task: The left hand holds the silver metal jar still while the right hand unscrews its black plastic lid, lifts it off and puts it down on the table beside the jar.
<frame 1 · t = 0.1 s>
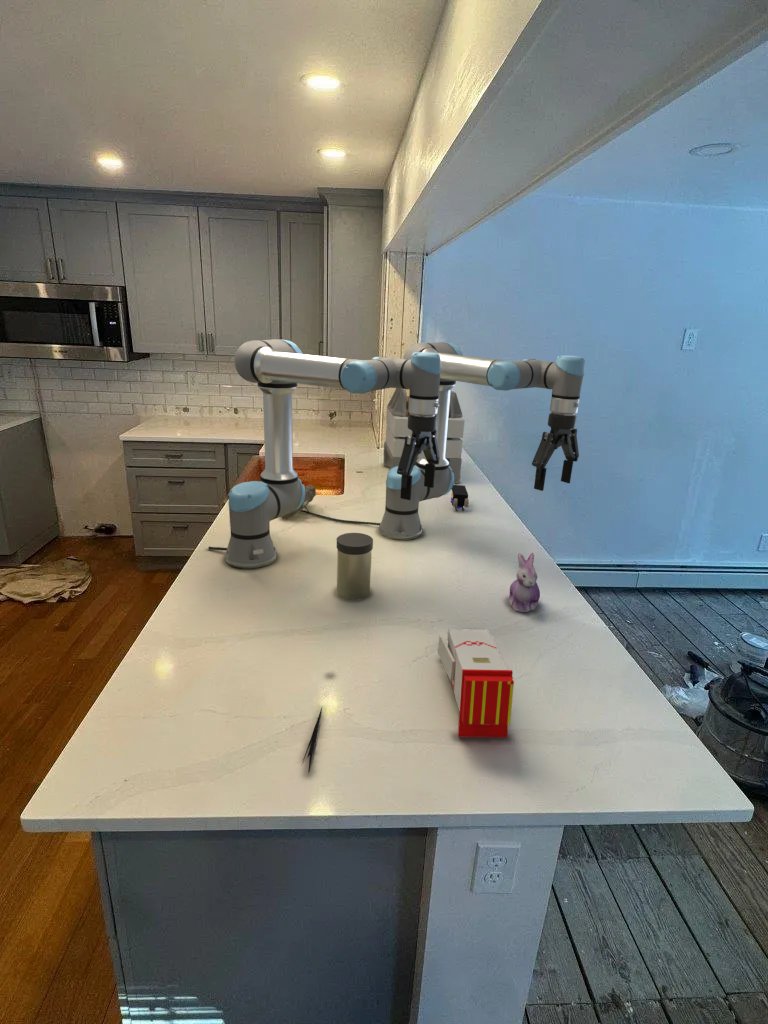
left hand: (417, 492, 154), 28 cm above the counter, tool pointing down, fingers open, 13 cm apart
right hand: (552, 485, 166), 28 cm above the counter, tool pointing down, fingers open, 13 cm apart
jar: (353, 592, 158), on the counter
figurine: (523, 605, 155), on the counter
feather: (319, 719, 109), on the counter
toy: (469, 691, 119), on the counter
fossil: (299, 511, 217), on the counter
figurine character: (458, 507, 230), on the counter
transformer: (419, 473, 275), on the counter
lid: (354, 540, 152), point 16 cm above the counter, screwed on, not yet turned
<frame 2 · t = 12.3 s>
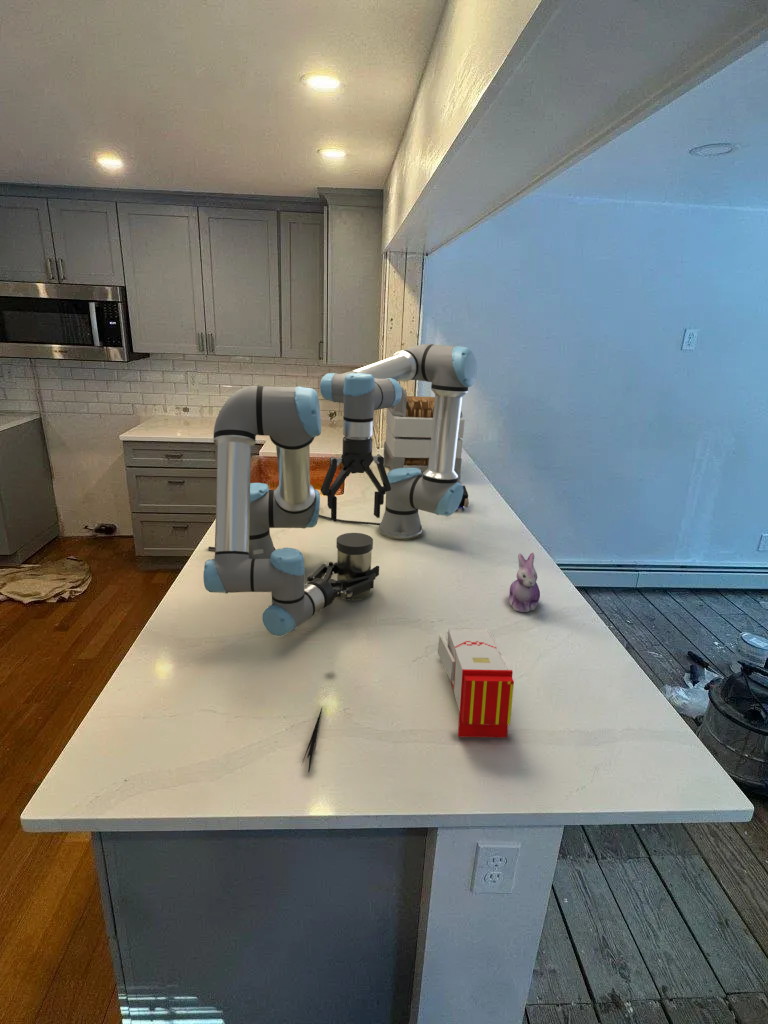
left hand: (362, 565, 159), 6 cm above the counter, tool horizontal, fingers closed on jar, 9 cm apart
right hand: (355, 517, 150), 22 cm above the counter, tool pointing down, fingers open, 11 cm apart
jar: (353, 592, 158), on the counter, touching left hand
everything else where it was.
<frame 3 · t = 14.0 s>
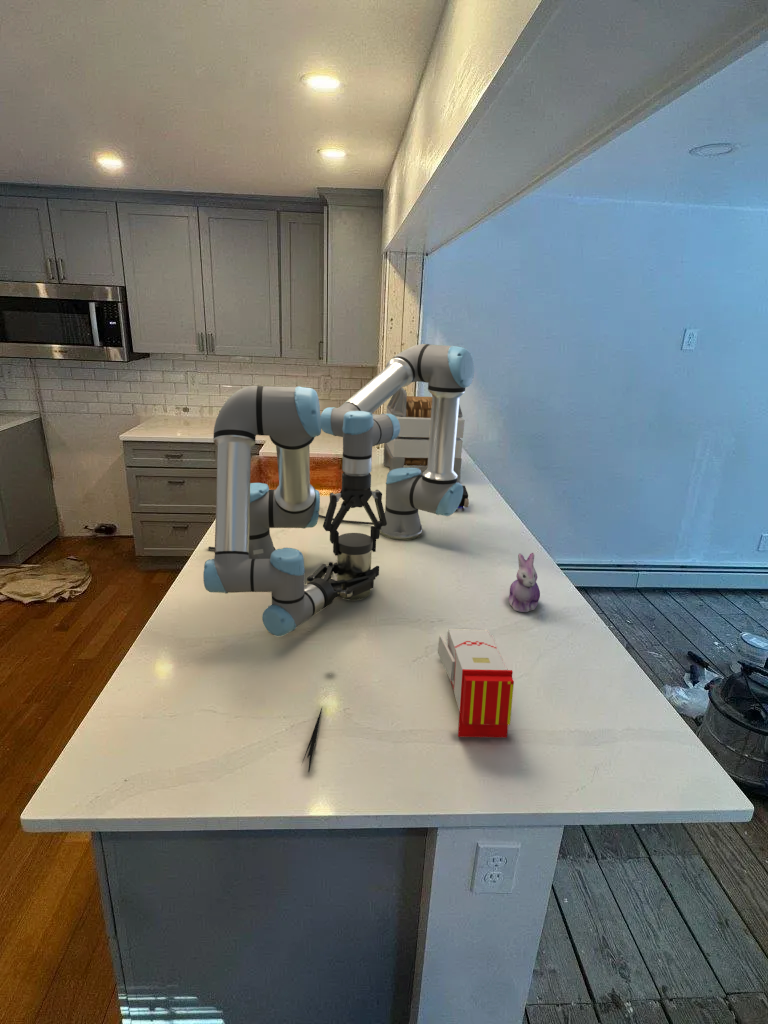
left hand: (362, 565, 159), 6 cm above the counter, tool horizontal, fingers closed on jar, 9 cm apart
right hand: (354, 551, 154), 12 cm above the counter, tool pointing down, fingers closed on lid, 10 cm apart
jar: (353, 592, 158), on the counter, touching left hand
lid: (354, 540, 152), point 16 cm above the counter, screwed on, not yet turned, touching right hand
everything else where it was.
when the right hand's fingers open (13 cm above the counter, at t = 15.7 s): lid stays where it is, point 16 cm above the counter.
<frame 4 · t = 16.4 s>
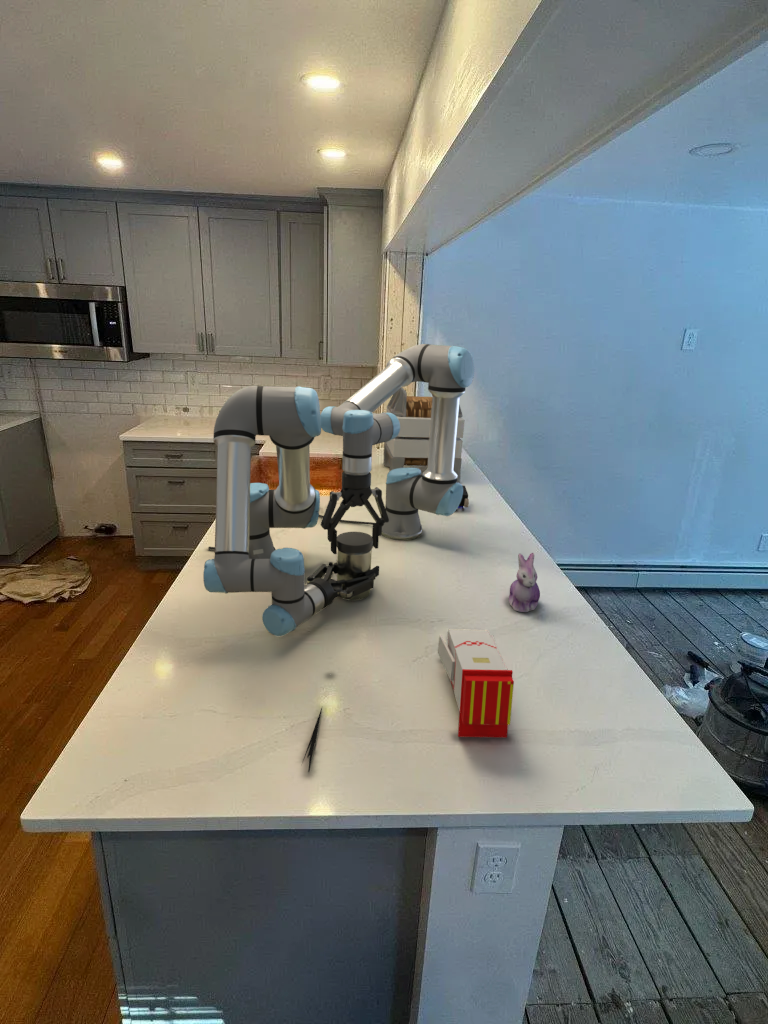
left hand: (362, 565, 159), 6 cm above the counter, tool horizontal, fingers closed on jar, 9 cm apart
right hand: (354, 549, 153), 13 cm above the counter, tool pointing down, fingers open, 11 cm apart
jar: (353, 592, 158), on the counter, touching left hand
lid: (354, 539, 152), point 16 cm above the counter, turned 101° so far, risen 0.3 cm, still on its thread
everything else where it was.
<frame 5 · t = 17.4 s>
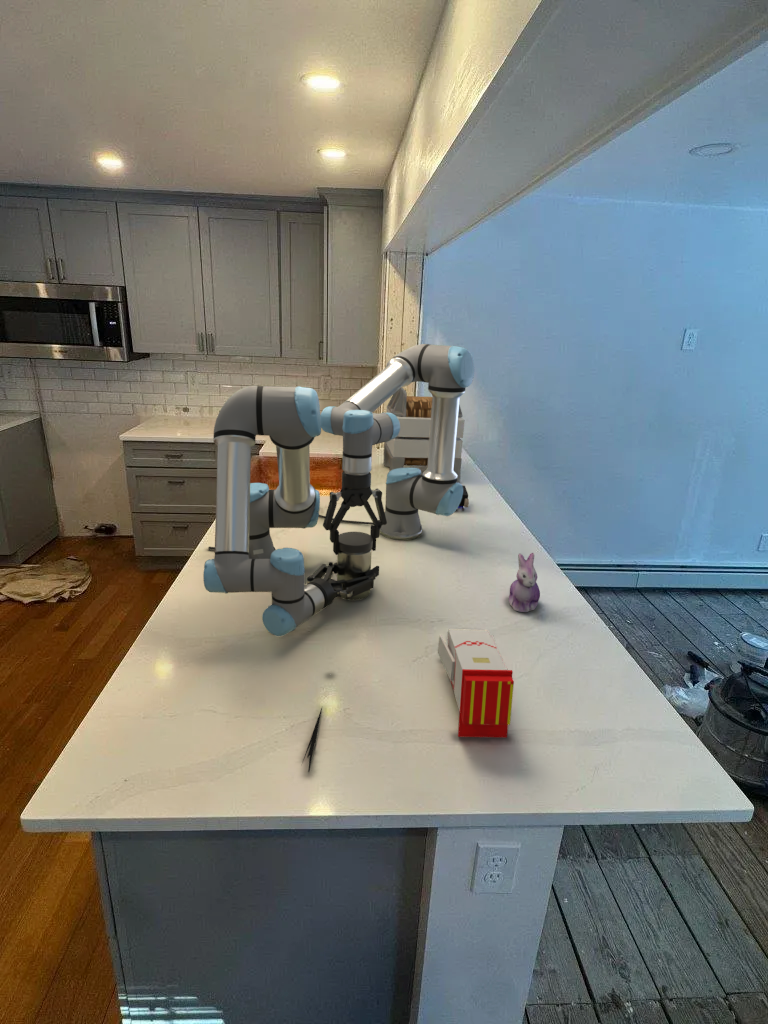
left hand: (362, 565, 159), 6 cm above the counter, tool horizontal, fingers closed on jar, 9 cm apart
right hand: (354, 550, 153), 13 cm above the counter, tool pointing down, fingers closed on lid, 10 cm apart
jar: (353, 592, 158), on the counter, touching left hand
lid: (354, 539, 152), point 16 cm above the counter, turned 101° so far, risen 0.3 cm, still on its thread, touching right hand
everything else where it was.
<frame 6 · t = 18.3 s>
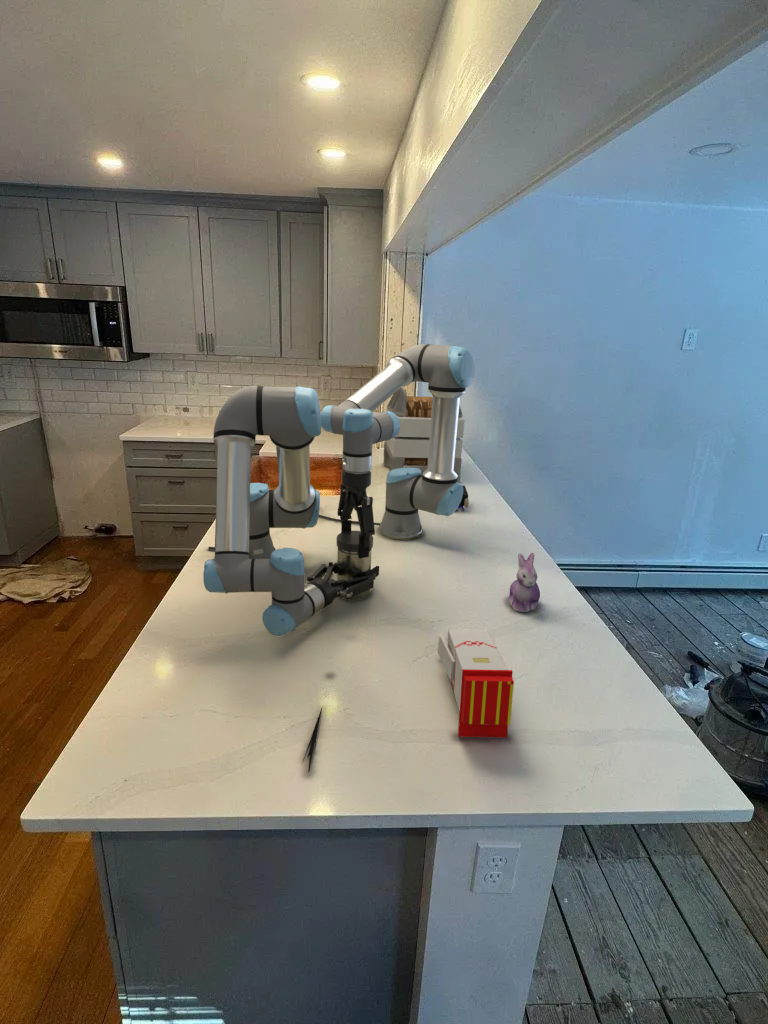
left hand: (362, 565, 159), 6 cm above the counter, tool horizontal, fingers closed on jar, 9 cm apart
right hand: (354, 549, 153), 13 cm above the counter, tool pointing down, fingers closed on lid, 10 cm apart
jar: (353, 592, 158), on the counter, touching left hand
lid: (355, 538, 152), point 16 cm above the counter, off its thread, touching right hand
everything else where it was.
when the right hand's fingers open (0 cm above the counter, at t = 23.7 s): lid drops 2 cm, point 2 cm above the counter.
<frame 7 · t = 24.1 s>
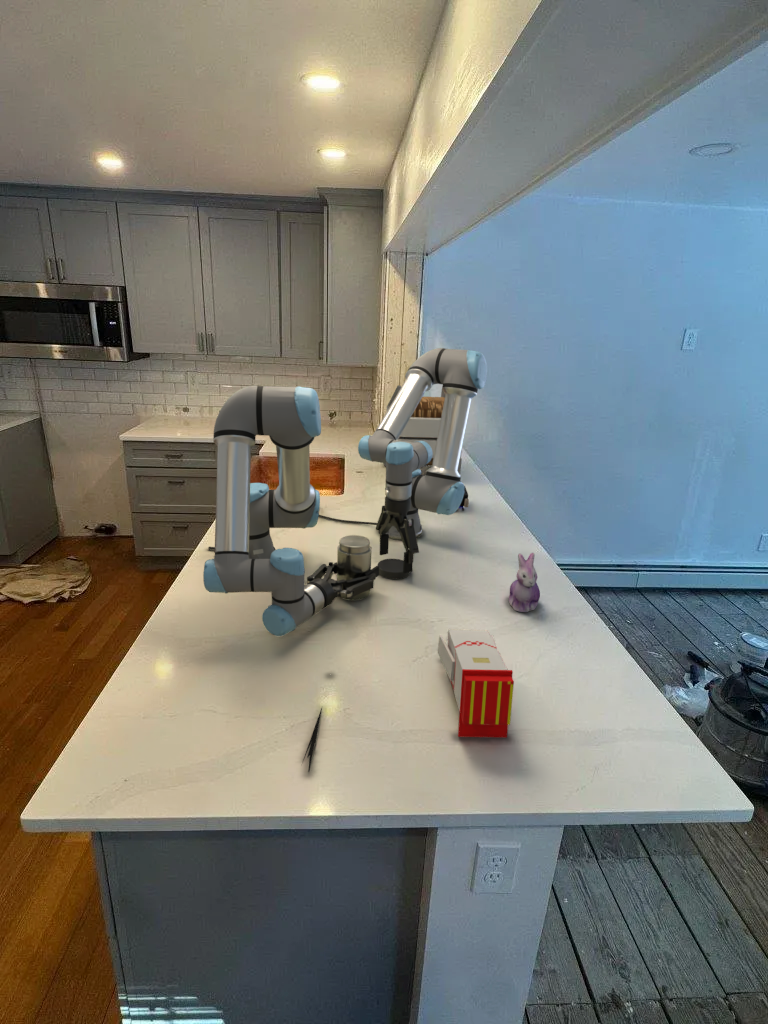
left hand: (362, 565, 159), 6 cm above the counter, tool horizontal, fingers closed on jar, 9 cm apart
right hand: (395, 562, 171), 3 cm above the counter, tool pointing down, fingers open, 13 cm apart
jar: (353, 592, 158), on the counter, touching left hand
lid: (393, 566, 170), point 2 cm above the counter, off its thread
everything else where it was.
when the left hand's fingers open (6 cm above the counter, at t = 24.7 s): jar stays where it is, on the counter.
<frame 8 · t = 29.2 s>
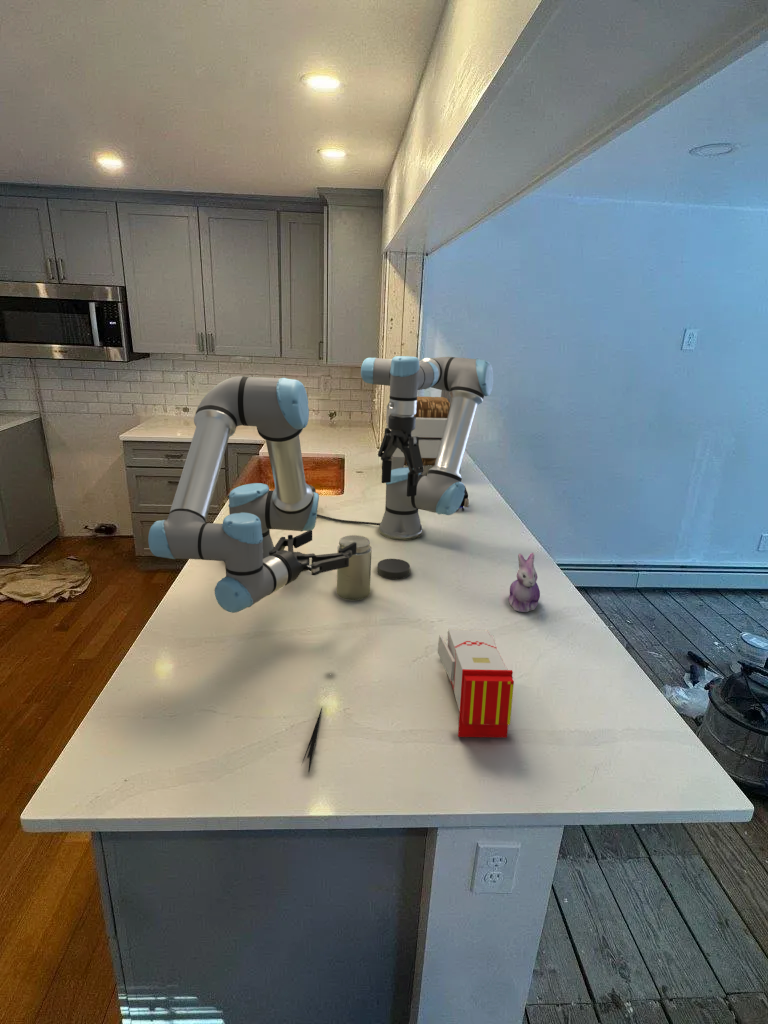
left hand: (332, 541, 143), 19 cm above the counter, tool horizontal, fingers open, 13 cm apart
right hand: (398, 489, 162), 26 cm above the counter, tool pointing down, fingers open, 13 cm apart
jar: (353, 592, 158), on the counter
everything else where it was.
at the end: lid came off its thread; lid point 1.9 cm above the counter; the left hand is holding nothing; the right hand is holding nothing; jar tilted 0°; jar moved 0.0 cm from its start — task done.
